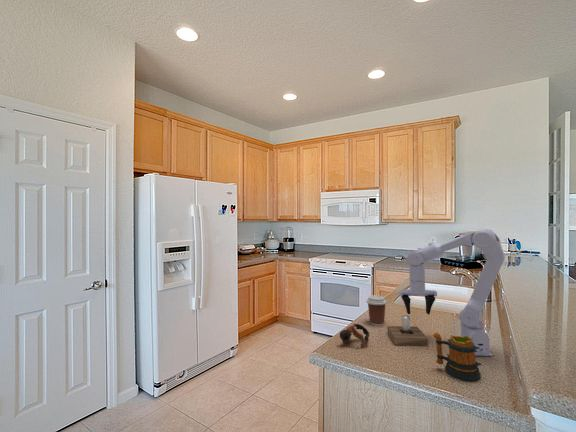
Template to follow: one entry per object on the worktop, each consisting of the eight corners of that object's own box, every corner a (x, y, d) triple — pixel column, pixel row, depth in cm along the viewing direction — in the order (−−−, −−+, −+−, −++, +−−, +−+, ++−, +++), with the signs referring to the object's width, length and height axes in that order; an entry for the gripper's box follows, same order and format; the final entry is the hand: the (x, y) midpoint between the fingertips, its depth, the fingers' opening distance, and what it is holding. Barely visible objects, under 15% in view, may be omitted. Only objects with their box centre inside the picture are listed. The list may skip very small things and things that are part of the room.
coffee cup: (388, 321, 138) (388, 295, 138) (385, 327, 130) (384, 300, 130) (369, 318, 142) (368, 293, 142) (364, 324, 134) (364, 298, 134)
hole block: (427, 345, 111) (427, 337, 111) (395, 345, 112) (394, 337, 112) (417, 333, 122) (416, 326, 123) (387, 333, 124) (387, 325, 124)
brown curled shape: (353, 337, 122) (362, 321, 119) (366, 355, 114) (376, 339, 112) (330, 335, 116) (340, 319, 114) (343, 355, 108) (353, 338, 106)
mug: (479, 368, 93) (478, 332, 93) (484, 385, 84) (483, 345, 84) (433, 361, 99) (432, 326, 99) (434, 375, 90) (433, 338, 90)
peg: (411, 340, 116) (410, 317, 116) (403, 340, 116) (402, 317, 116) (409, 337, 118) (408, 315, 119) (401, 337, 119) (401, 315, 119)
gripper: (431, 278, 123) (432, 310, 123) (396, 278, 124) (397, 310, 124) (438, 281, 116) (439, 316, 116) (401, 281, 117) (402, 315, 117)
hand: (418, 313), depth 120 cm, fingers open, 7 cm apart
